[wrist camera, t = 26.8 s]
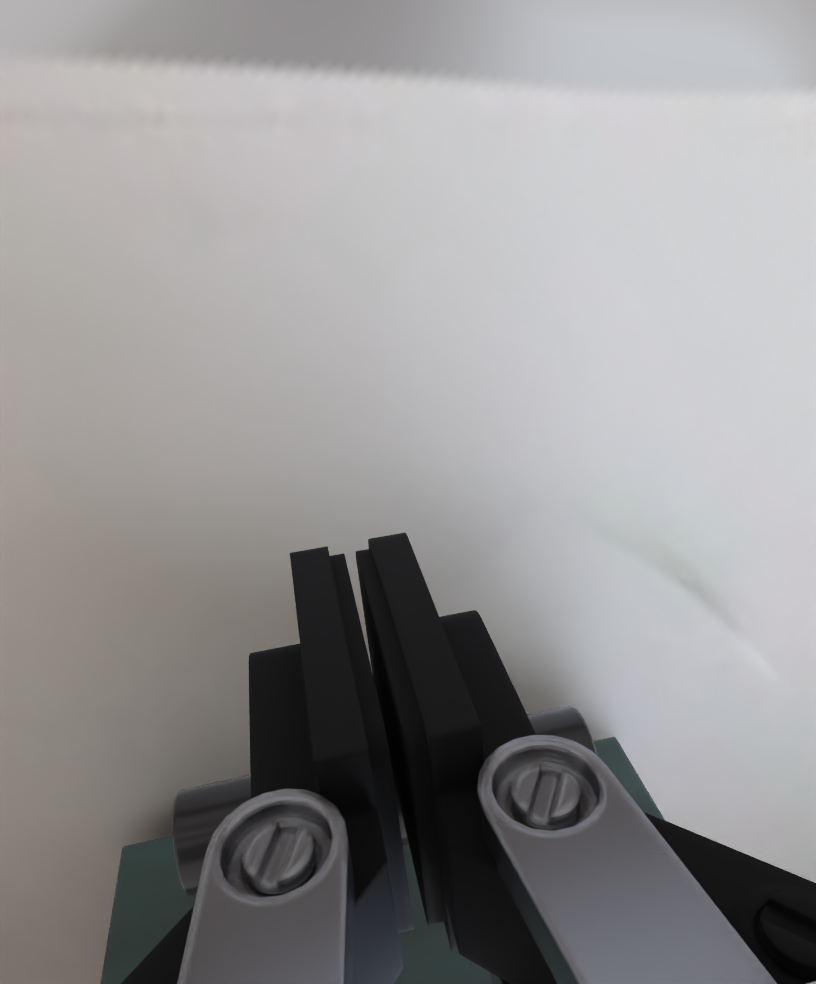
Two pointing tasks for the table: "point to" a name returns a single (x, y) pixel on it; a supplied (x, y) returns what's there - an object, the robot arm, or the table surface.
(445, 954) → the drawer
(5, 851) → the table surface
